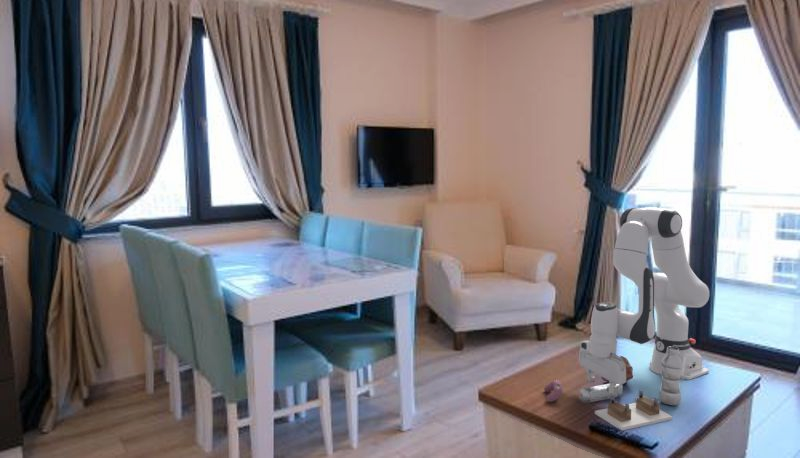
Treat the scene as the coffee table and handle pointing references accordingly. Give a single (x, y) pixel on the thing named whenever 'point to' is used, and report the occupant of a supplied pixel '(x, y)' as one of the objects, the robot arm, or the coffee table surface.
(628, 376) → the stone
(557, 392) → the video game controller
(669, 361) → the plastic bottle
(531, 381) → the coffee table surface
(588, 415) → the coffee table surface
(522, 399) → the coffee table surface
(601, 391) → the grey long cylinder
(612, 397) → the spanner rack
